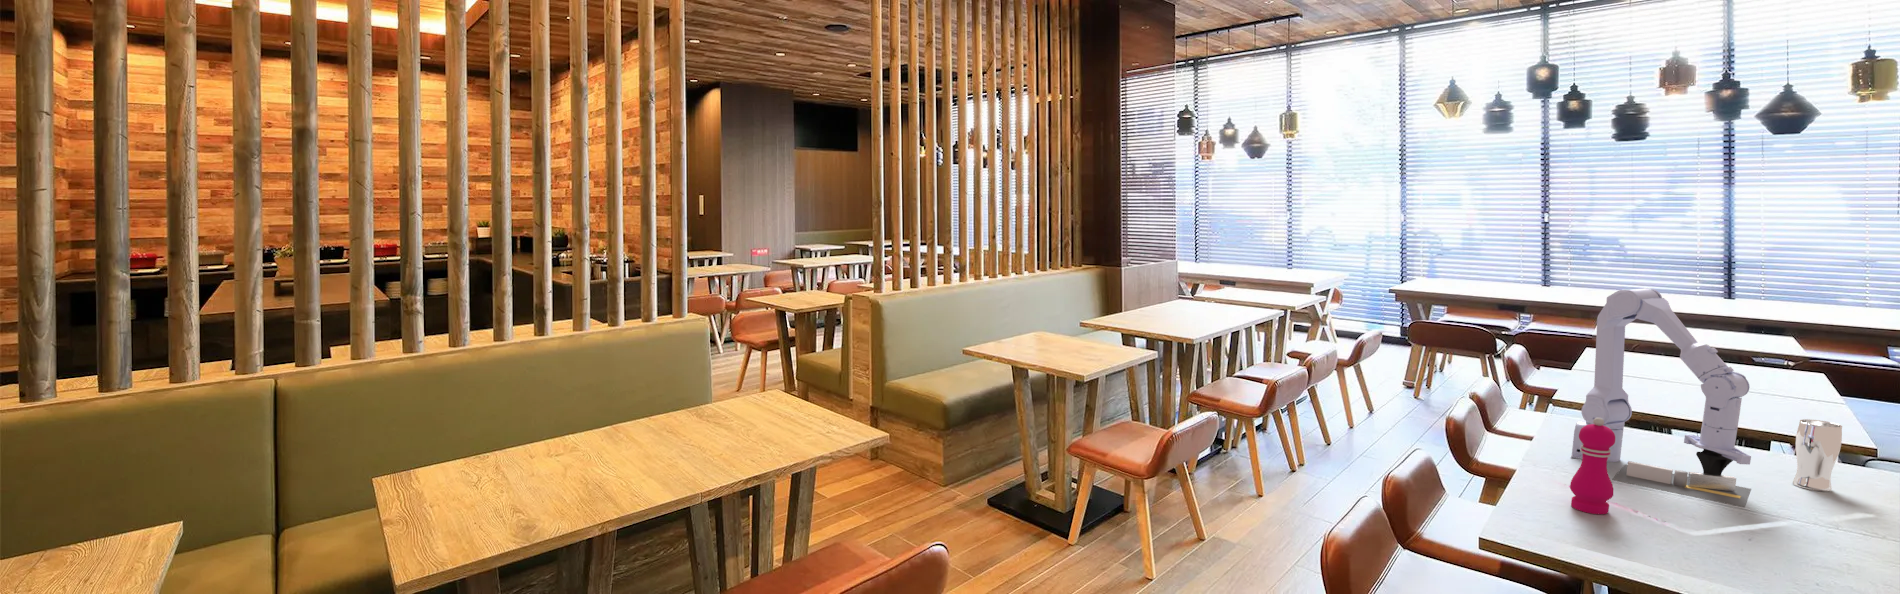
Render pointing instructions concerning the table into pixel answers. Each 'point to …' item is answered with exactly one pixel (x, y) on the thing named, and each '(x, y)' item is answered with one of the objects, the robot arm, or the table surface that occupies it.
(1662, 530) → the table surface
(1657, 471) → the mat
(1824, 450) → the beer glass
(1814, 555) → the table surface
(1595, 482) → the pepper mill
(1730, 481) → the hinge leaf
